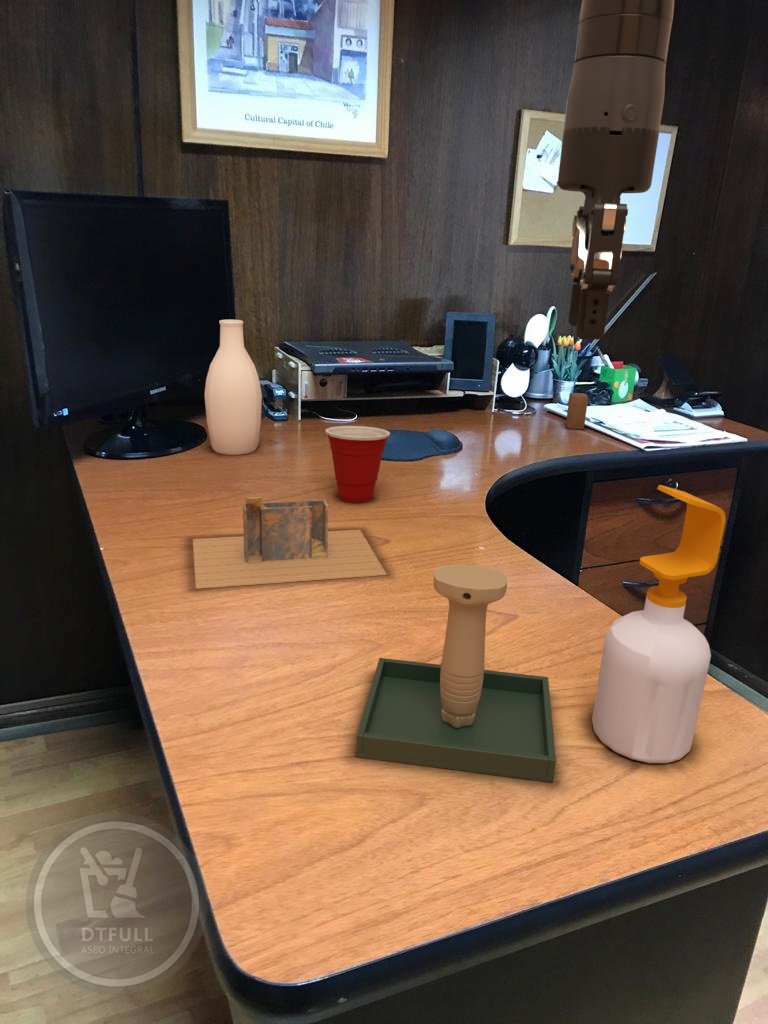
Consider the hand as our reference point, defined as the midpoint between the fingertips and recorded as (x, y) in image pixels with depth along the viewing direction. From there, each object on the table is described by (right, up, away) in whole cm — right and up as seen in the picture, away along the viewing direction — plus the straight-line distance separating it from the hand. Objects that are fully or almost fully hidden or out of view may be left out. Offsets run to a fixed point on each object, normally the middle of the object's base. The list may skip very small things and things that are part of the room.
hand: (584, 331), depth 68 cm
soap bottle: (+7, -37, +5) cm, 38 cm away
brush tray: (-11, -36, +5) cm, 38 cm away
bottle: (-48, -3, +89) cm, 101 cm away
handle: (-11, -36, +5) cm, 38 cm away
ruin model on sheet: (-31, -22, +40) cm, 56 cm away
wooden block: (+28, +4, +118) cm, 121 cm away
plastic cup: (-23, -14, +65) cm, 70 cm away
